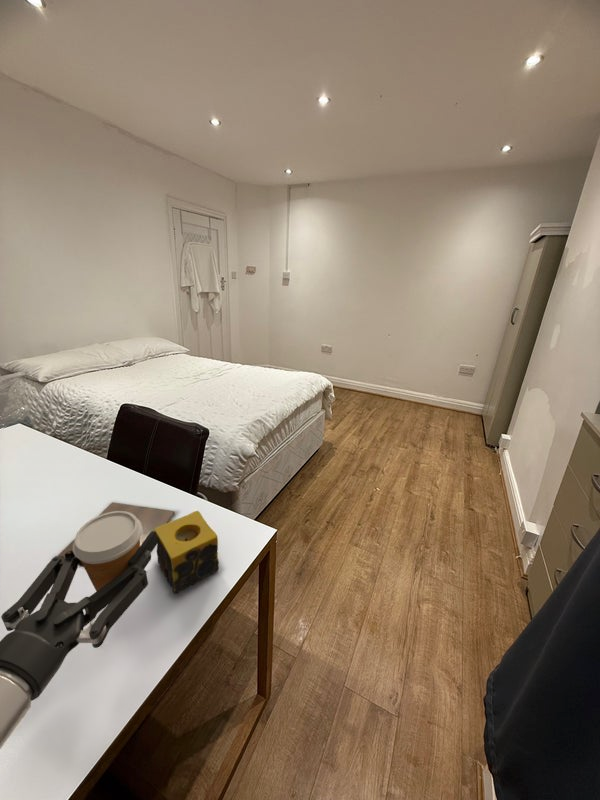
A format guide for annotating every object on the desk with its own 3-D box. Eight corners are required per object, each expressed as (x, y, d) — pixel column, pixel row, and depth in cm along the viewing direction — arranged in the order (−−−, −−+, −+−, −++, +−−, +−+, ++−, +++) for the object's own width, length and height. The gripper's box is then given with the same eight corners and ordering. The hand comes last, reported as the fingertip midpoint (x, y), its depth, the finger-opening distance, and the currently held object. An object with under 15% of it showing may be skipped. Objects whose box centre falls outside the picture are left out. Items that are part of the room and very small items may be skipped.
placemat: (58, 558, 71) (57, 555, 71) (112, 504, 88) (112, 502, 87) (133, 570, 69) (133, 568, 69) (174, 513, 86) (174, 511, 86)
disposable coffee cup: (72, 600, 52) (54, 544, 47) (119, 554, 60) (108, 503, 56) (119, 620, 49) (106, 562, 45) (161, 569, 58) (154, 517, 53)
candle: (157, 562, 71) (151, 528, 68) (200, 541, 78) (197, 508, 74) (174, 597, 64) (169, 560, 61) (220, 570, 70) (218, 535, 67)
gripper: (-65, 687, 38) (81, 541, 59) (97, 724, 36) (189, 558, 57) (-90, 647, 35) (72, 508, 56) (83, 684, 33) (185, 525, 54)
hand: (131, 533), depth 57 cm, fingers closed on disposable coffee cup, 8 cm apart
